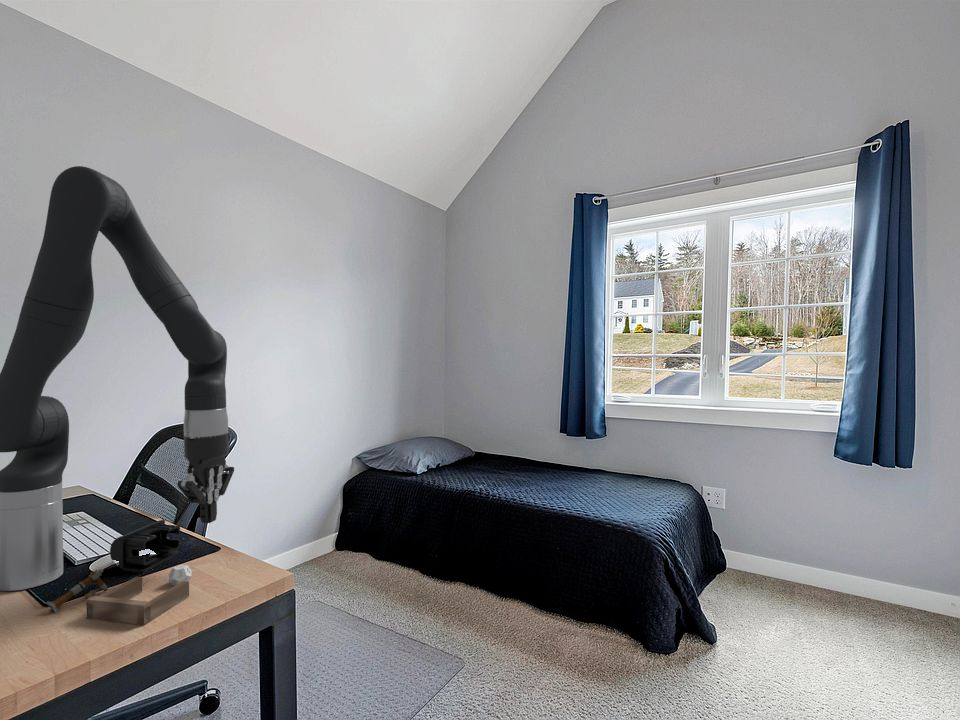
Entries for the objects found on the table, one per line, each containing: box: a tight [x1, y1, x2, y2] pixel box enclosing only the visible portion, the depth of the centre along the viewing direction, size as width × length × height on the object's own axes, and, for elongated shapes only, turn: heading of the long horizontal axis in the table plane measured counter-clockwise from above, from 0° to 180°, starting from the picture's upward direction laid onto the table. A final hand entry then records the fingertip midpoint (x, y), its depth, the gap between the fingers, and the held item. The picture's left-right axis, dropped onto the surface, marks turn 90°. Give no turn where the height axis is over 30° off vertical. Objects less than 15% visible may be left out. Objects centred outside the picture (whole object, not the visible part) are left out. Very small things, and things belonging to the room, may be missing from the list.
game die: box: [168, 564, 193, 587], centre depth 91 cm, size 4×4×3 cm
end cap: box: [109, 519, 181, 573], centre depth 100 cm, size 10×7×7 cm
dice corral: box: [85, 576, 190, 626], centre depth 83 cm, size 10×9×3 cm
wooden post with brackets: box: [46, 568, 109, 613], centre depth 84 cm, size 2×8×4 cm, turn 150°
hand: (208, 521), depth 97 cm, fingers closed
